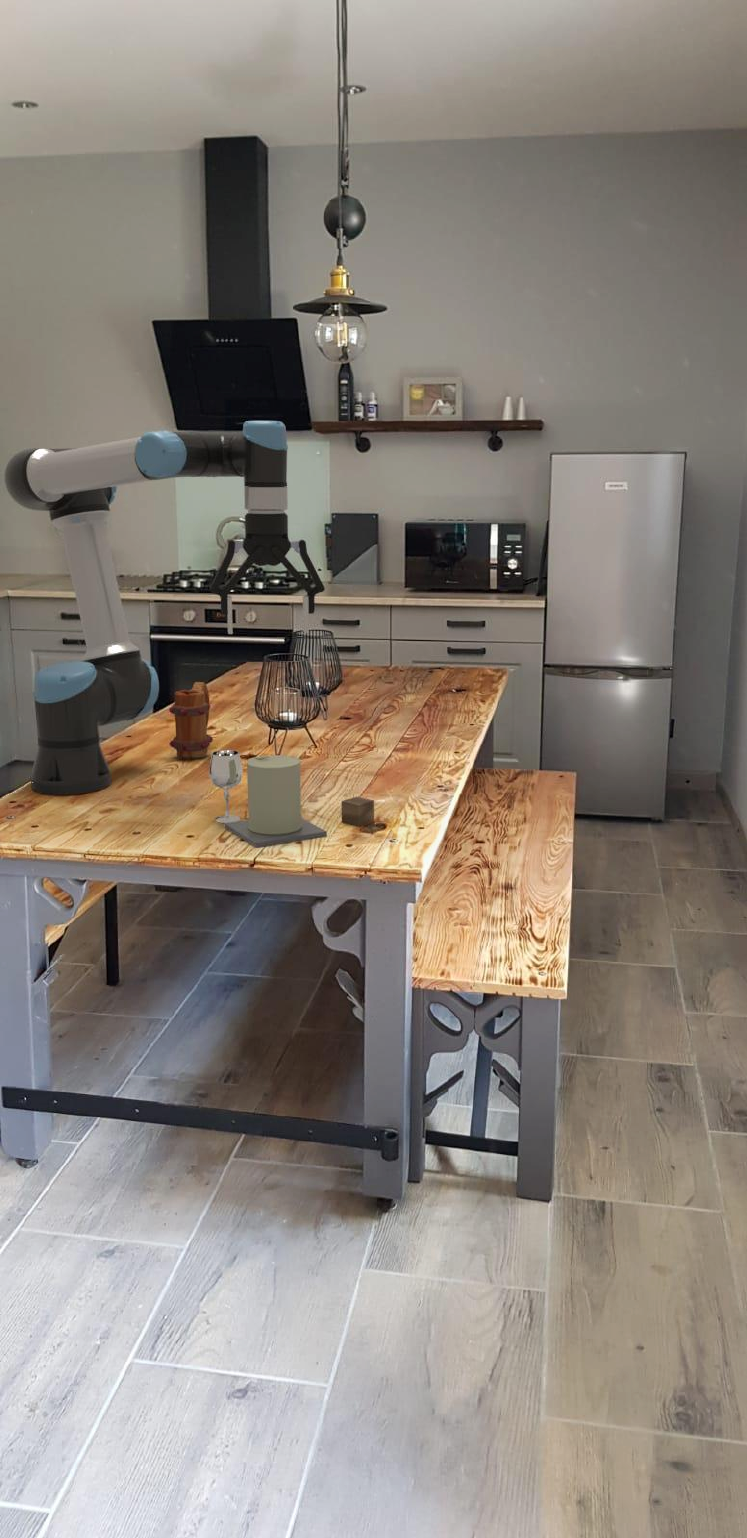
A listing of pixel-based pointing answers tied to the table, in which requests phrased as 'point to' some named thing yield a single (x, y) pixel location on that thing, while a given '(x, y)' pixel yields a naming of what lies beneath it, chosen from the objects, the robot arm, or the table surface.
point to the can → (274, 794)
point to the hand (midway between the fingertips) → (268, 632)
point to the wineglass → (226, 777)
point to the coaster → (265, 840)
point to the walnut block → (357, 811)
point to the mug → (191, 722)
